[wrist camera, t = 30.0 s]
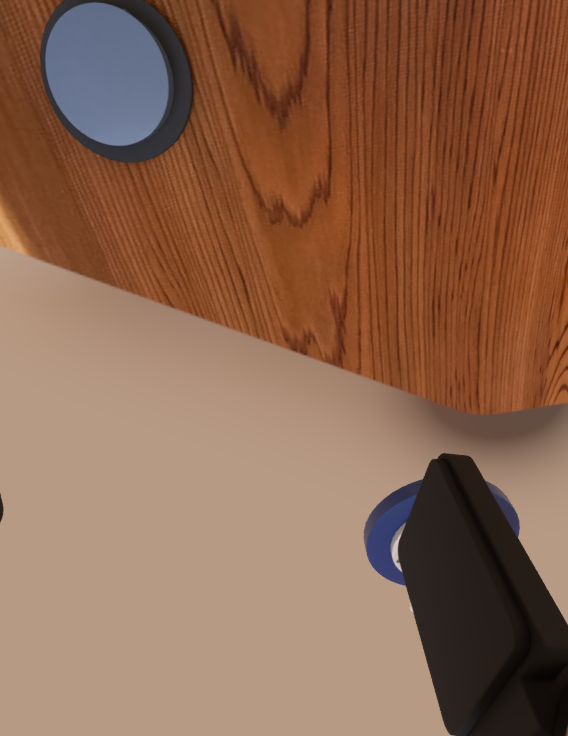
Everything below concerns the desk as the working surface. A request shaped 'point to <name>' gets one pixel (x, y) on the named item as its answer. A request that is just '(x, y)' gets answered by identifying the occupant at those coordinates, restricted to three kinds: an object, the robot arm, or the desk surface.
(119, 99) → the jar lid
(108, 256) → the desk surface
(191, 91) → the coaster
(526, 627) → the robot arm
